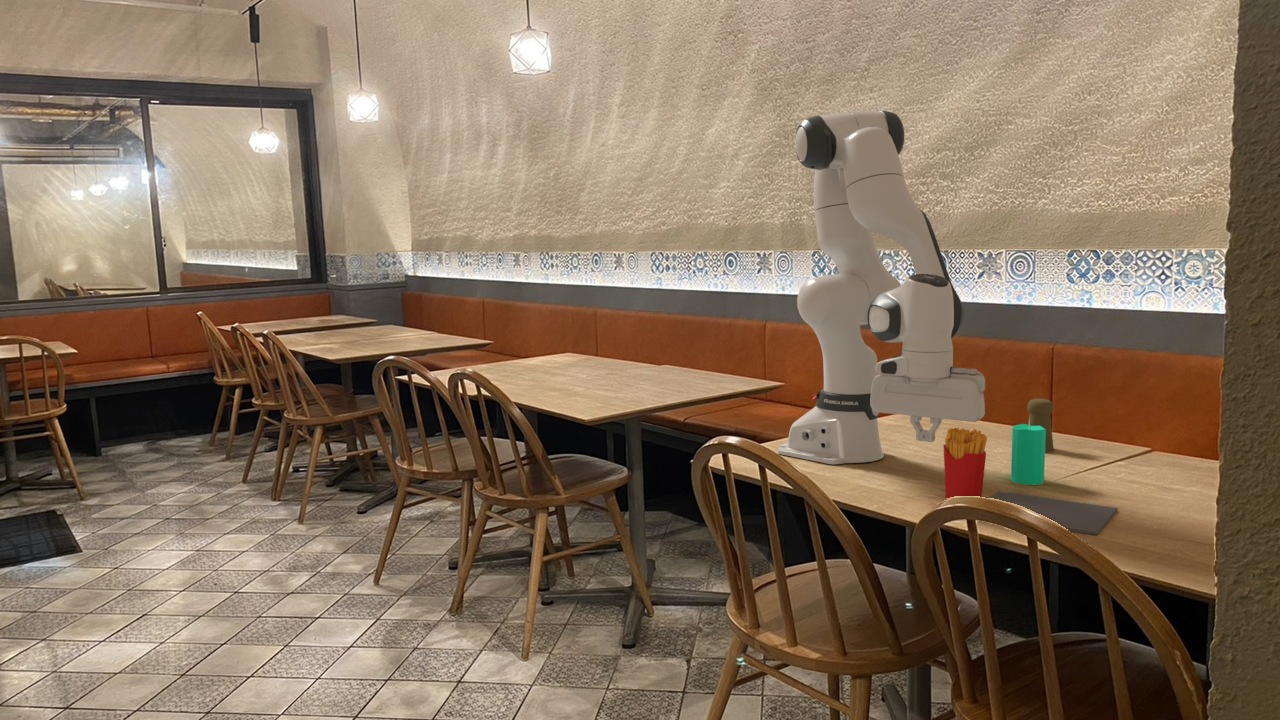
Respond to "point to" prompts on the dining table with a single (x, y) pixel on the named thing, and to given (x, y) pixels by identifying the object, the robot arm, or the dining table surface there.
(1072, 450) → the dining table surface
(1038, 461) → the candle
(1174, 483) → the dining table surface
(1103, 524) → the mat
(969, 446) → the french fries
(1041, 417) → the cork
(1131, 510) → the dining table surface
